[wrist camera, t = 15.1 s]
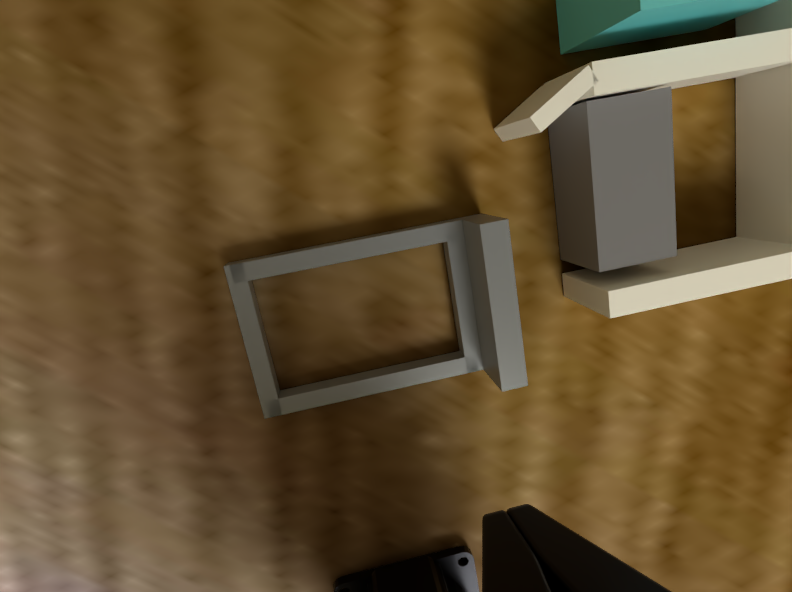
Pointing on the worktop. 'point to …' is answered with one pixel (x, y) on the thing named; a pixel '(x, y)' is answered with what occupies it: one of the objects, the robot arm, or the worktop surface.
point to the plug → (640, 19)
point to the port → (666, 168)
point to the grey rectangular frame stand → (479, 350)
